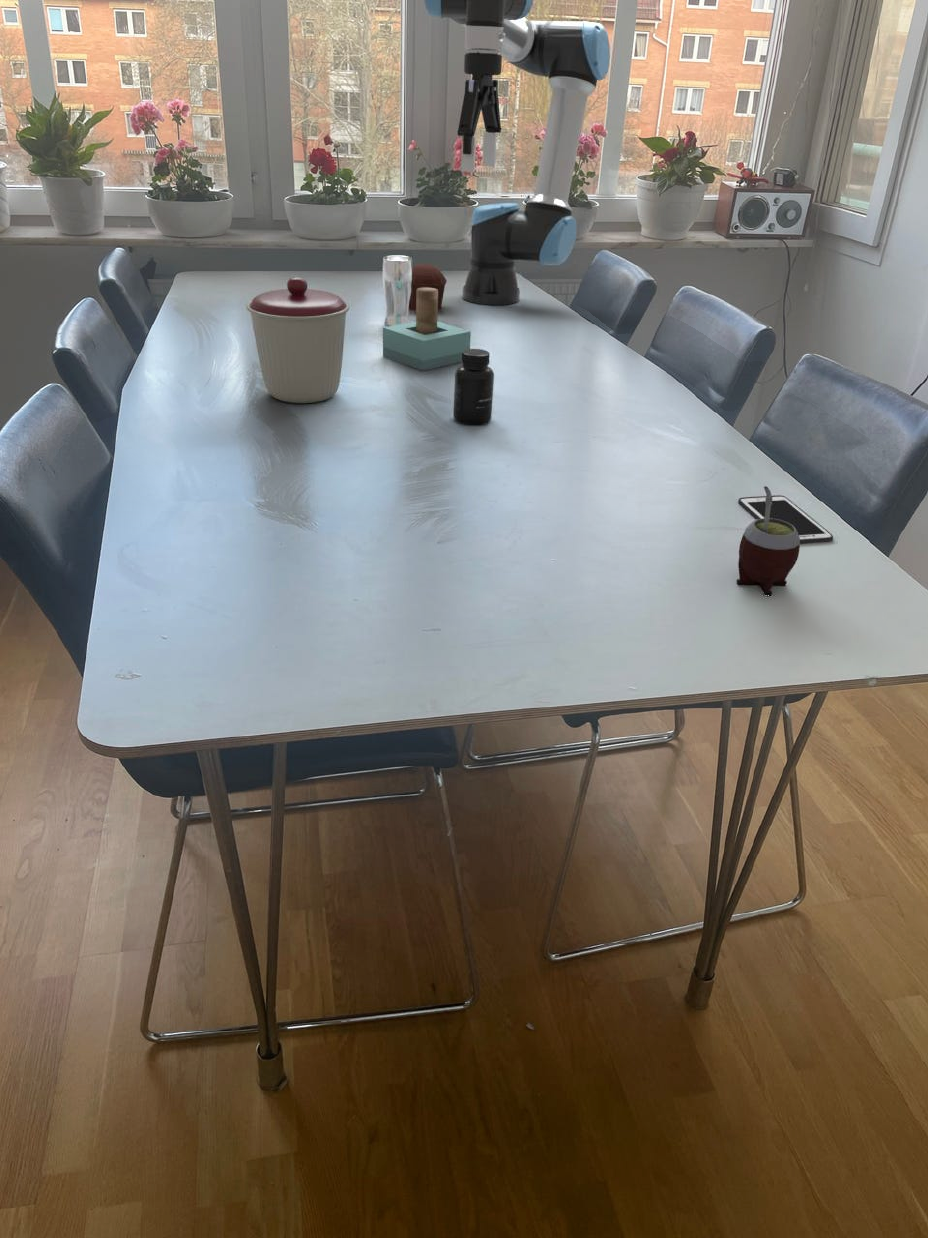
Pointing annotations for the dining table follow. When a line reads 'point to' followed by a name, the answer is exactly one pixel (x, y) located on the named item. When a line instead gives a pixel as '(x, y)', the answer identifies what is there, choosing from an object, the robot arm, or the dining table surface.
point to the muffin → (427, 282)
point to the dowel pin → (426, 310)
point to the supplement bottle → (473, 388)
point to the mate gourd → (767, 551)
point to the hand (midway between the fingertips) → (478, 169)
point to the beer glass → (397, 288)
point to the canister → (299, 341)
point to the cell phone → (787, 517)
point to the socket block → (425, 345)
